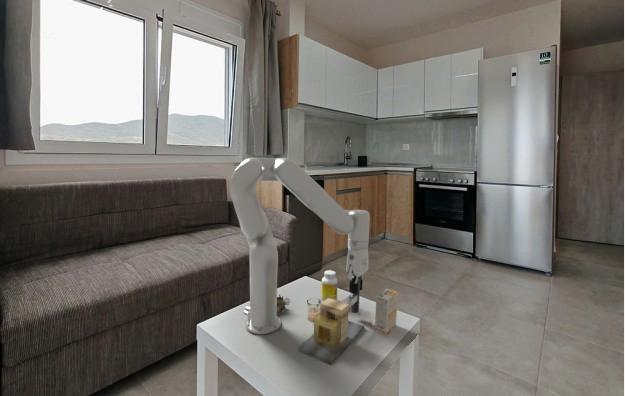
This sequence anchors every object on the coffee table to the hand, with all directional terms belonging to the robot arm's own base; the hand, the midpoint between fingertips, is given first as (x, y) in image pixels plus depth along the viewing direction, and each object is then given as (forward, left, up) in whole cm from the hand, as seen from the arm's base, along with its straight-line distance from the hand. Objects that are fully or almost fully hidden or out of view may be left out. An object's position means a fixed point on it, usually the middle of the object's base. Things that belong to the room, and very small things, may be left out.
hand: (355, 290), depth 121 cm
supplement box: (+12, +1, -12) cm, 17 cm away
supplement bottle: (-15, +7, -11) cm, 20 cm away
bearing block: (0, -16, -11) cm, 20 cm away
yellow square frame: (0, -21, -10) cm, 24 cm away
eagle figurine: (-27, -13, -12) cm, 32 cm away
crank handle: (0, -8, -8) cm, 11 cm away
